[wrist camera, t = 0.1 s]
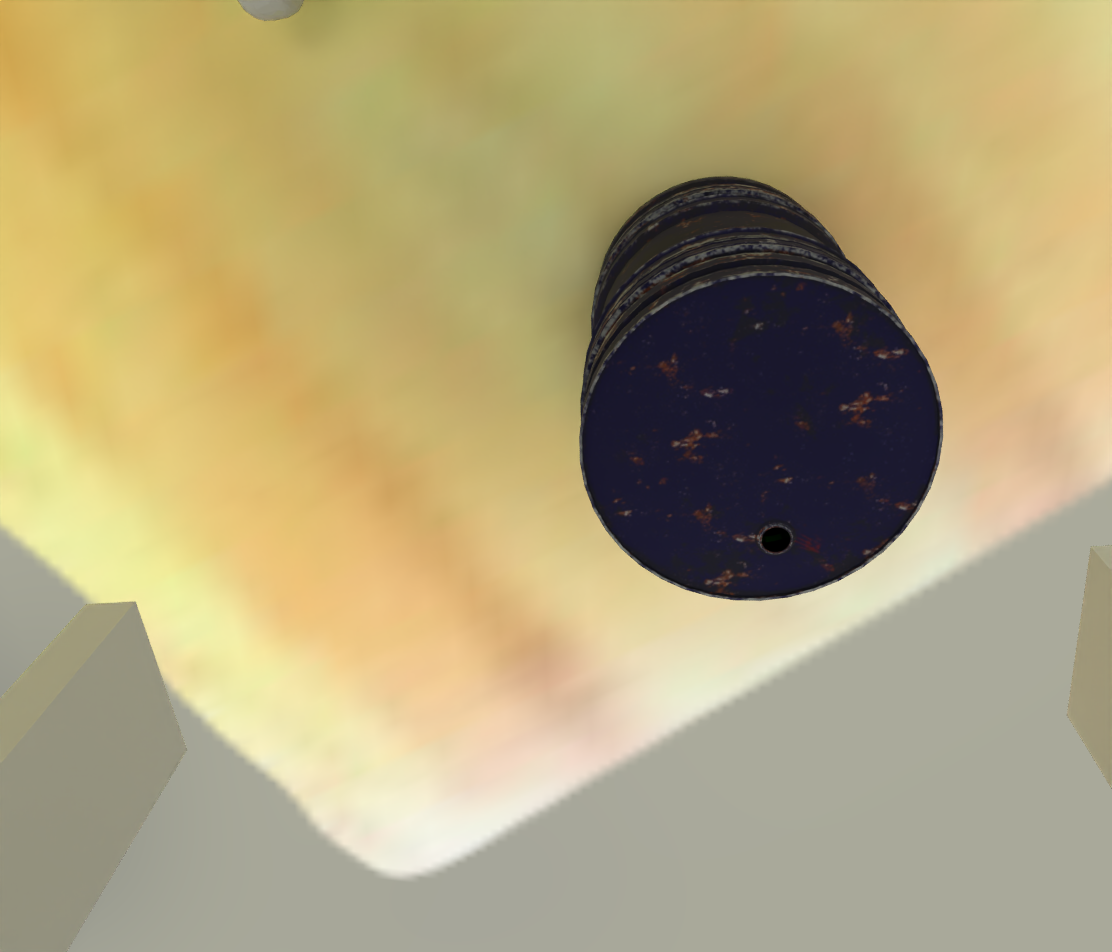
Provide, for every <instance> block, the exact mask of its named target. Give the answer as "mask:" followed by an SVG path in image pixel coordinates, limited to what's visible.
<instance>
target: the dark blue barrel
mask: <svg viewBox="0 0 1112 952" xmlns="http://www.w3.org/2000/svg"><path fill="white" fill-rule="evenodd" d="M591 328H592V338H591V341H590V344H589V347H588V350H587V355H586V361H585V368H584V375H583V386H582V393H581V428H580V436H579V440H580V465H581V470H582V475H583V480H584V485H585V488H586V491H587V493H588V496H589V499H590V501H591V504H592V507H593V509H594V511H595V513H596V514H597V516H598V518H599V519H600V521H601V523H602V525H603V526H604V528H605V530H606V531H607V532H608V533H609V535H610V536H611V537H612V538H613V539H614V541H615V542H616V543H617V544H618V545H619V547H620V548H621V549H622V550H623V551H624V552H625V553H627V554H628V555H629V556H630V557H631V558H632V559H633V560H635V561H636V562H637V563H638V564H639V565H640V566H642V567H643V568H645V569H647V570H648V571H650V572H651V573H653V574H654V575H656V576H658V577H659V578H661V579H663V580H665V581H667V582H669V583H672V584H674V585H676V586H678V587H680V588H683V589H685V590H689V591H692V592H696V593H699V594H703V595H706V596H710V597H717V598H723V599H730V600H758V601H761V600H770V599H778V598H787V597H791V596H795V595H799V594H803V593H807V592H811V591H814V590H817V589H820V588H822V587H825V586H827V585H830V584H832V583H835V582H837V581H839V580H841V579H843V578H845V577H847V576H848V575H850V574H852V573H854V572H855V571H857V570H859V569H861V568H862V567H864V566H865V565H866V564H868V563H869V562H870V561H872V560H873V559H874V558H876V557H877V556H878V555H880V554H881V553H882V552H884V551H885V550H886V549H887V548H888V547H889V546H890V545H891V544H892V543H893V542H894V541H895V540H896V539H897V538H898V537H899V536H900V535H901V534H902V533H903V531H904V530H905V529H906V527H907V526H908V525H909V523H910V522H911V520H912V519H913V518H914V516H915V515H916V514H917V512H918V511H919V509H920V507H921V505H922V503H923V501H924V500H925V498H926V496H927V494H928V492H929V490H930V488H931V485H932V482H933V479H934V476H935V473H936V470H937V467H938V464H939V460H940V453H941V447H942V440H943V414H942V406H941V401H940V396H939V392H938V387H937V383H936V381H935V378H934V376H933V373H932V371H931V369H930V366H929V364H928V361H927V359H926V358H925V356H924V354H923V353H922V351H921V350H920V348H919V347H918V345H917V344H916V342H915V340H914V339H913V337H912V336H911V335H910V334H909V332H908V331H907V330H906V329H905V327H904V325H903V324H902V322H901V321H900V319H899V317H898V316H897V314H896V313H895V311H894V310H893V308H892V307H891V305H890V304H889V303H888V302H887V300H886V299H885V298H884V297H883V296H882V295H881V294H880V292H879V291H878V290H877V289H876V287H875V286H874V284H873V283H872V282H871V281H870V280H869V279H868V278H867V277H866V276H865V275H864V274H863V272H862V271H861V270H860V269H859V268H858V267H857V266H856V265H854V264H853V263H852V262H850V261H849V260H848V259H846V257H845V255H844V253H843V252H842V250H841V249H840V247H839V246H838V244H837V243H836V241H835V239H834V238H833V237H832V235H831V234H830V233H829V232H828V231H827V230H826V229H825V228H824V227H823V225H822V224H821V223H820V222H819V221H818V220H817V219H816V218H815V217H814V216H813V215H811V214H810V213H809V212H808V211H806V210H805V209H804V208H803V207H802V206H801V205H799V204H798V203H797V202H795V201H794V200H793V199H791V198H790V197H789V196H787V195H786V194H784V193H783V192H781V191H779V190H777V189H775V188H773V187H771V186H769V185H766V184H763V183H760V182H757V181H753V180H750V179H744V178H737V177H708V178H702V179H697V180H691V181H688V182H685V183H683V184H680V185H677V186H674V187H672V188H670V189H668V190H666V191H664V192H662V193H660V194H658V195H657V196H655V197H653V198H652V199H651V200H649V201H648V202H647V203H645V204H644V205H643V206H641V207H640V208H639V209H638V210H637V211H636V212H635V213H634V214H633V215H632V216H631V217H630V218H629V219H628V220H627V221H626V222H625V224H624V225H623V226H622V228H621V229H620V231H619V232H618V233H617V235H616V236H615V238H614V239H613V241H612V243H611V245H610V247H609V249H608V251H607V253H606V256H605V259H604V262H603V265H602V268H601V272H600V276H599V279H598V282H597V285H596V288H595V294H594V301H593V308H592V315H591Z"/></svg>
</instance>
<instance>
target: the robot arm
mask: <svg viewBox="0 0 1112 952" xmlns="http://www.w3.org/2000/svg"><path fill="white" fill-rule="evenodd" d="M1067 716H1068V718H1069V719H1070V721H1071V723H1072V724H1073V726H1074V728H1075V729H1076V731H1077V733H1078V734H1079V736H1080V737H1081V739H1082V741H1083V743H1084V744H1085V746H1086V747H1087V749H1088V751H1089V752H1090V754H1091V756H1092V757H1093V759H1094V761H1095V762H1096V764H1097V765H1098V767H1099V769H1100V770H1101V772H1102V774H1103V775H1104V777H1105V778H1106V780H1107V782H1108V783H1109V785H1110V787H1111V788H1112V545H1107V546H1091V549H1090V557H1089V563H1088V570H1087V577H1086V584H1085V591H1084V598H1083V605H1082V612H1081V619H1080V626H1079V634H1078V640H1077V648H1076V655H1075V662H1074V669H1073V676H1072V683H1071V690H1070V697H1069V704H1068V711H1067ZM186 751H187V748H186V745H185V742H184V740H183V737H182V734H181V731H180V728H179V725H178V722H177V719H176V717H175V714H174V711H173V708H172V705H171V702H170V699H169V696H168V694H167V691H166V688H165V685H164V682H163V679H162V676H161V673H160V671H159V668H158V665H157V662H156V659H155V656H154V653H153V650H152V647H151V645H150V642H149V639H148V636H147V633H146V630H145V627H144V624H143V622H142V619H141V616H140V613H139V610H138V607H137V604H136V601H135V602H118V603H101V604H86V605H85V606H84V607H83V608H82V609H81V610H80V611H79V612H78V614H77V615H76V616H75V617H74V618H73V619H72V620H71V621H70V622H69V623H68V625H67V626H66V627H65V628H64V629H63V630H62V631H61V632H60V633H59V634H58V635H57V637H56V638H55V639H54V640H53V641H52V642H51V643H50V644H49V645H48V646H47V648H46V649H45V650H44V651H43V652H42V653H41V654H40V655H39V656H38V658H37V659H36V660H35V661H34V662H33V663H32V664H31V665H30V666H29V667H28V668H27V670H26V671H25V672H24V673H23V674H22V675H21V676H20V677H19V678H18V680H17V681H16V682H15V683H14V684H13V685H12V686H11V687H10V688H9V689H8V691H7V692H6V693H5V694H4V695H3V696H2V697H1V698H0V952H67V951H68V949H69V947H70V945H71V944H72V942H73V940H74V939H75V937H76V935H77V934H78V932H79V930H80V928H81V927H82V925H83V924H84V922H85V920H86V919H87V917H88V915H89V913H90V912H91V910H92V908H93V907H94V905H95V904H96V902H97V900H98V899H99V897H100V895H101V893H102V892H103V890H104V888H105V887H106V885H107V883H108V882H109V880H110V878H111V876H112V875H113V873H114V872H115V870H116V868H117V867H118V865H119V863H120V862H121V860H122V858H123V857H124V855H125V853H126V852H127V850H128V848H129V847H130V845H131V843H132V841H133V840H134V838H135V837H136V835H137V833H138V831H139V830H140V828H141V826H142V825H143V823H144V821H145V820H146V818H147V816H148V815H149V813H150V811H151V810H152V808H153V806H154V804H155V803H156V801H157V800H158V798H159V796H160V795H161V793H162V791H163V790H164V788H165V786H166V784H167V783H168V781H169V780H170V778H171V776H172V774H173V773H174V771H175V769H176V768H177V766H178V764H179V763H180V761H181V759H182V758H183V756H184V754H185V753H186Z"/></svg>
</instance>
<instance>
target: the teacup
mask: <svg viewBox="0 0 1112 952" xmlns="http://www.w3.org/2000/svg"><path fill="white" fill-rule="evenodd" d="M238 1H239V3H240V4H241V6H242V7H243V9H244V10H245V11H246V12H248V13H249V14H250V15H252V16H253V17H255V18H257V19H260V20H264V21H270V20H279V19H283V18H288V17H290V16H291V15H293V14H295V13H296V12H298V11H299V9H300V7H301V6H302V4H303V1H304V0H238Z"/></svg>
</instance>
